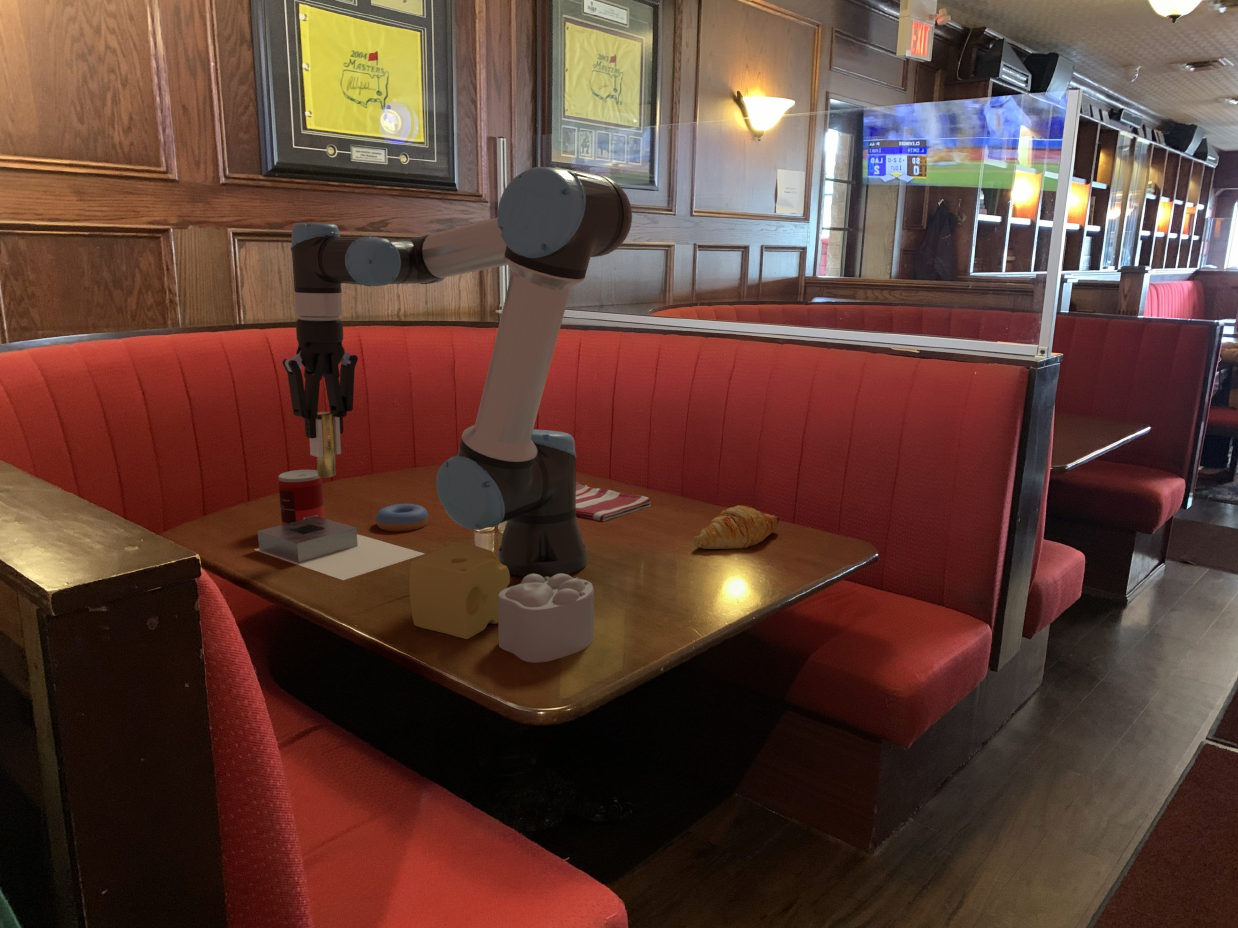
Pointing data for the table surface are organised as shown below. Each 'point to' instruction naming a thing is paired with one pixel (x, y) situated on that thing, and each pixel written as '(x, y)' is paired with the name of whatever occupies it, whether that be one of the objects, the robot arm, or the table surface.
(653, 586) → the table surface
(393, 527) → the doughnut
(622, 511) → the dish towel
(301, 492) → the canned food
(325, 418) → the pin
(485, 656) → the table surface
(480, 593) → the cheese
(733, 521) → the croissant
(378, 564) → the mat
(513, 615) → the lumpy-topped squat cylinder
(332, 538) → the square hole block
